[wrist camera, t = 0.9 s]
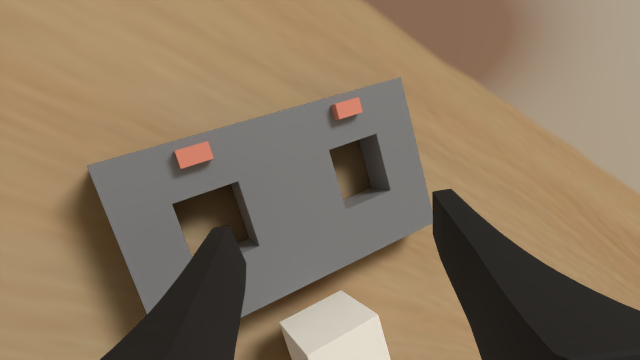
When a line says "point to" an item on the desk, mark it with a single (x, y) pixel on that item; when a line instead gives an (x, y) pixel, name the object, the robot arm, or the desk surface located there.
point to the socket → (273, 193)
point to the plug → (335, 331)
